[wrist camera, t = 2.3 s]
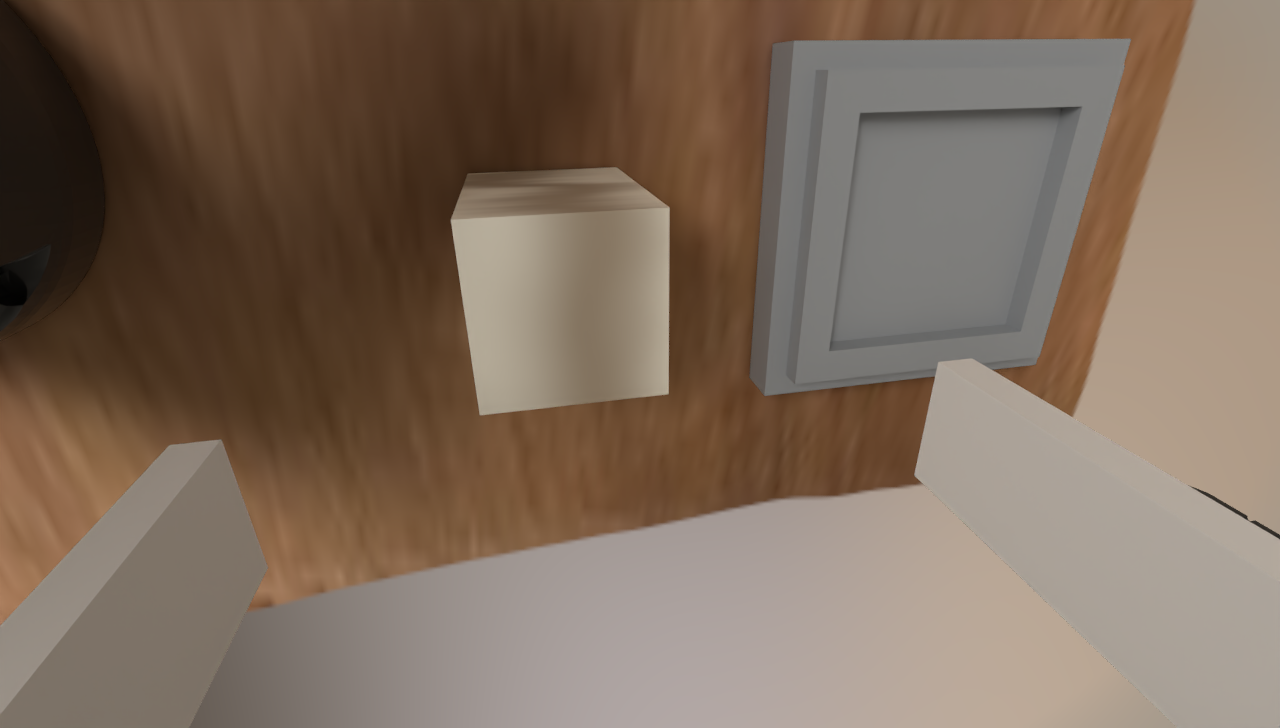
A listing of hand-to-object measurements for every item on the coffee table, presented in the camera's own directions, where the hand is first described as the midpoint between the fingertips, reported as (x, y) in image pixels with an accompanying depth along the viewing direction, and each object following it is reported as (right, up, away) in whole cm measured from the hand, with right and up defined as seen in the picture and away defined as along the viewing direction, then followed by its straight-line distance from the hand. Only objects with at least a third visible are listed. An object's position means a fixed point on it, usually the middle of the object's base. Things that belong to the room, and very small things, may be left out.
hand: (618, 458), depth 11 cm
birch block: (-3, +7, +14) cm, 16 cm away
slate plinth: (+13, +9, +17) cm, 23 cm away
